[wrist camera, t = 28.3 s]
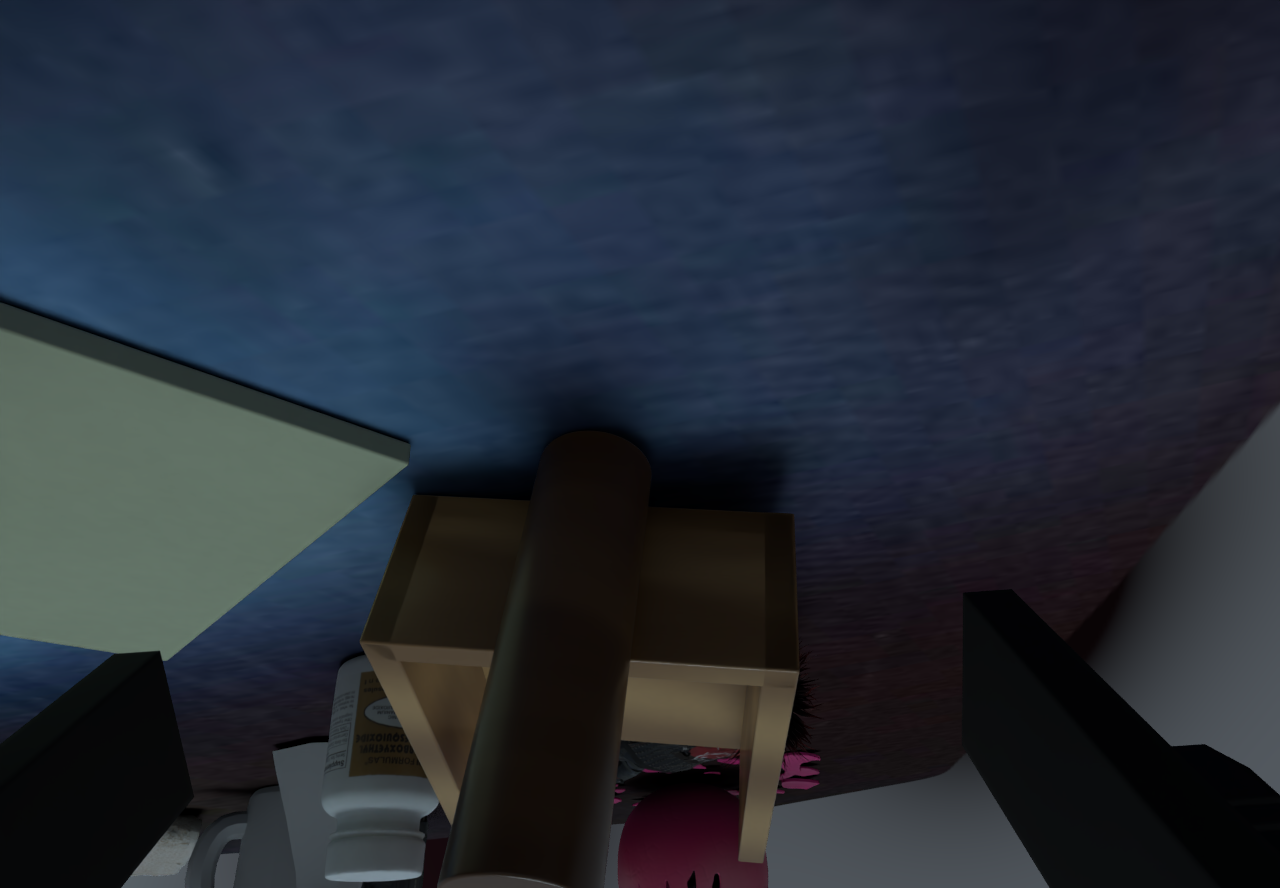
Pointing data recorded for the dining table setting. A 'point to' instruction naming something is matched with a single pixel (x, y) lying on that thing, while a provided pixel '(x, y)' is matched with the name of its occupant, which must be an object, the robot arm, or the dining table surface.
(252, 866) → the cup
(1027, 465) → the dining table surface
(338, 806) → the pill bottle
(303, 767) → the flask
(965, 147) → the dining table surface
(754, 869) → the hatching egg
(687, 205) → the dining table surface
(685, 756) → the figurine
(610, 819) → the open wooden box
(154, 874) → the washcloth
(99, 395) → the placemat
